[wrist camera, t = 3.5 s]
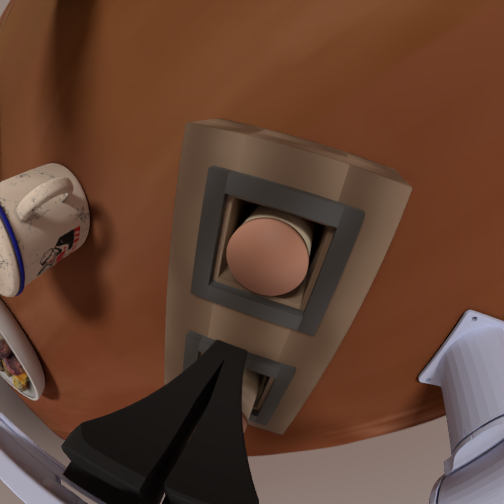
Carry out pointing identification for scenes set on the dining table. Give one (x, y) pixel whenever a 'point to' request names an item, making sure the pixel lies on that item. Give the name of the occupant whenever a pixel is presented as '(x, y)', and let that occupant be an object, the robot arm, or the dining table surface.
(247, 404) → the peg
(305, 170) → the walnut block
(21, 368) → the bowl
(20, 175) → the teacup with lid
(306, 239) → the peg
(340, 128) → the dining table surface
